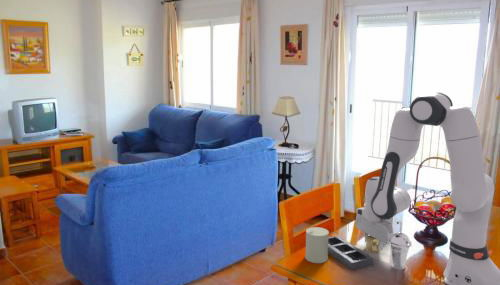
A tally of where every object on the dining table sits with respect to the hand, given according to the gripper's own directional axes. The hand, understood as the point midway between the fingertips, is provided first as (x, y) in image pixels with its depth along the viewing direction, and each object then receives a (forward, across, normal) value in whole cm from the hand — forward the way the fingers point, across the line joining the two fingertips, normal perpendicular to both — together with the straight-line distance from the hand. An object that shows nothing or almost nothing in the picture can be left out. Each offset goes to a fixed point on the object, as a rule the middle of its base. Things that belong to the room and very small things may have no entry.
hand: (373, 245), depth 183 cm
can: (+2, +3, +26) cm, 26 cm away
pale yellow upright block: (+2, 0, 0) cm, 2 cm away
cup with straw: (+2, -16, +1) cm, 16 cm away
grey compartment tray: (+2, +1, +14) cm, 14 cm away
